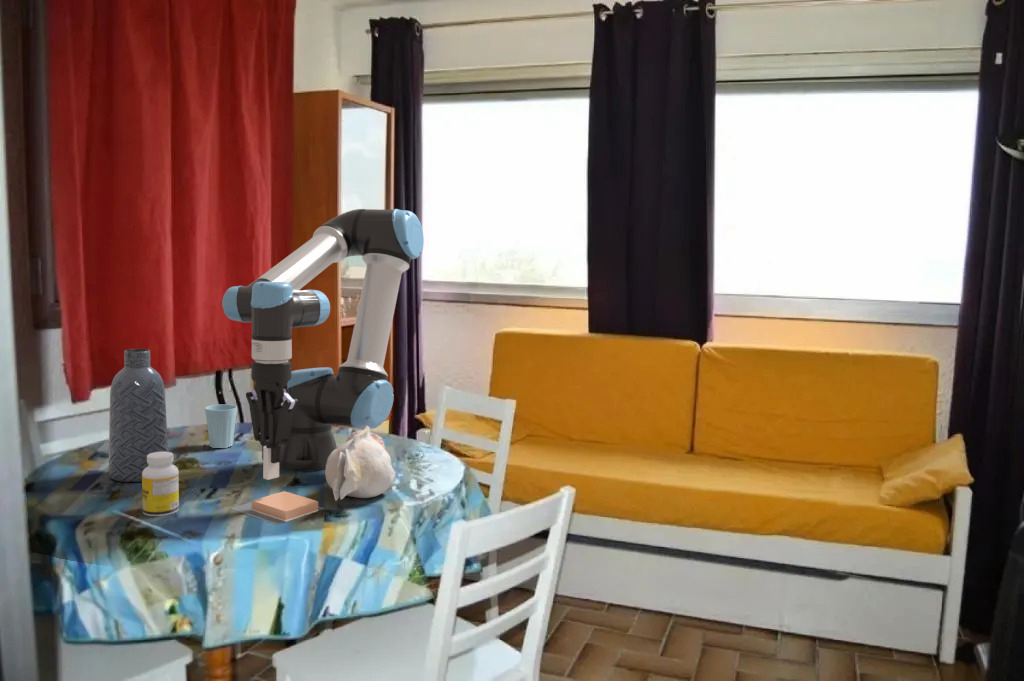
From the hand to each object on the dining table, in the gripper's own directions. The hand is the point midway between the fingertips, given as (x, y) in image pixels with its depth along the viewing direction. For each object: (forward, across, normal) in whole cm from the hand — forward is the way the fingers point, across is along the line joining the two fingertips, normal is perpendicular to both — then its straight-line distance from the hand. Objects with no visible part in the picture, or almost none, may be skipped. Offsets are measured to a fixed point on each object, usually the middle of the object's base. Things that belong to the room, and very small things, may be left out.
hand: (271, 477), depth 155 cm
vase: (+7, -40, -4) cm, 41 cm away
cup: (+7, -48, +23) cm, 54 cm away
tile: (+5, -1, 0) cm, 5 cm away
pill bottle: (+7, -14, -15) cm, 22 cm away
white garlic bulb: (+7, +6, +16) cm, 19 cm away
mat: (+6, +2, 0) cm, 7 cm away
